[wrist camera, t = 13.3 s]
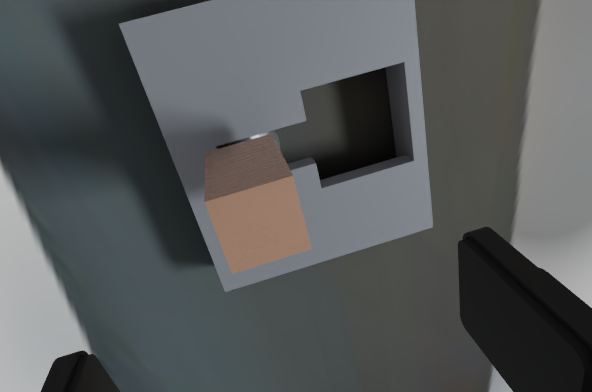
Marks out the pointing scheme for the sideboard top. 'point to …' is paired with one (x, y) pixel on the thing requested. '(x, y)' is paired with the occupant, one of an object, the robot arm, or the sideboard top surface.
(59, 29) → the sideboard top surface
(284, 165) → the keyhole peg
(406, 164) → the keyhole board
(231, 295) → the sideboard top surface
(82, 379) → the robot arm
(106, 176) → the sideboard top surface
